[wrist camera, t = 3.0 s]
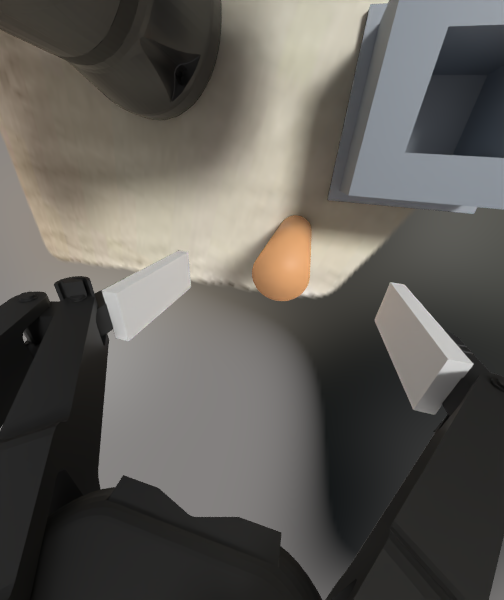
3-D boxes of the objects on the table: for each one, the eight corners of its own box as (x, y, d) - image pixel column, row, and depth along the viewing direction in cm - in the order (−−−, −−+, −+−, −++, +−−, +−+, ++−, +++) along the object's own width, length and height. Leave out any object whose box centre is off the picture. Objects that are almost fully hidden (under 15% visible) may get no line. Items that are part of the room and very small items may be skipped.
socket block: (327, 199, 25) (332, 207, 18) (368, 9, 18) (400, -87, 11) (470, 213, 22) (533, 227, 16) (582, -1, 15) (779, -131, 9)
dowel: (276, 246, 29) (250, 295, 17) (280, 213, 27) (254, 243, 15) (308, 250, 28) (303, 305, 16) (314, 217, 26) (315, 251, 14)
